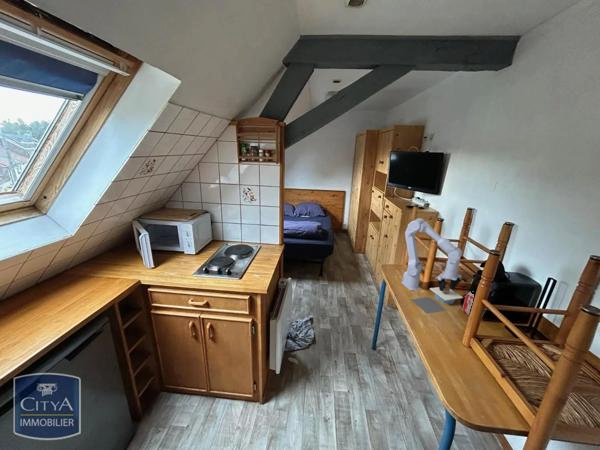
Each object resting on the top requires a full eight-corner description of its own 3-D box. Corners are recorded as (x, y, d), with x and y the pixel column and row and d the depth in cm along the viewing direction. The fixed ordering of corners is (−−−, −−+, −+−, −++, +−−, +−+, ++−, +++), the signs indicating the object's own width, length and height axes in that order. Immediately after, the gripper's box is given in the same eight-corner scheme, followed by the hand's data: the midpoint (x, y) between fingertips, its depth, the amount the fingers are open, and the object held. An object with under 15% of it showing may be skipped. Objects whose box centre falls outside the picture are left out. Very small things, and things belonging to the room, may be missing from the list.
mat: (410, 299, 142) (410, 299, 141) (429, 297, 145) (429, 296, 145) (426, 314, 130) (426, 313, 129) (446, 311, 133) (446, 310, 133)
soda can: (479, 319, 127) (485, 299, 124) (464, 316, 129) (470, 297, 125) (473, 310, 134) (479, 291, 130) (459, 308, 135) (464, 289, 132)
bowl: (430, 295, 147) (432, 289, 146) (444, 293, 149) (445, 287, 148) (443, 305, 138) (445, 299, 136) (458, 303, 140) (459, 297, 139)
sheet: (429, 288, 146) (431, 282, 145) (445, 286, 149) (447, 280, 148) (445, 300, 135) (447, 293, 134) (462, 298, 138) (464, 291, 137)
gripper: (446, 273, 132) (441, 295, 136) (468, 271, 135) (462, 292, 140) (436, 267, 138) (432, 288, 142) (457, 265, 142) (452, 285, 146)
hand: (446, 289), depth 141 cm, fingers open, 7 cm apart
